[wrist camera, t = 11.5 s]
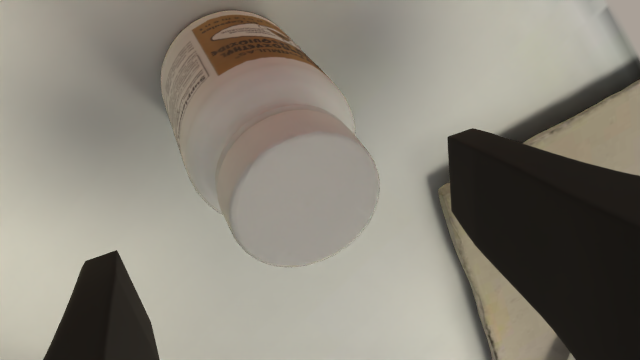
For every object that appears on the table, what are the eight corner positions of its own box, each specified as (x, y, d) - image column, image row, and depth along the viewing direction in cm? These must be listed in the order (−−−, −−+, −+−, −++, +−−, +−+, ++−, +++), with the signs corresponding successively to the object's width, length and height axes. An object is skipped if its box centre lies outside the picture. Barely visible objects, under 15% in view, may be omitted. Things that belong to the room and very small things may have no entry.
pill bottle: (317, 34, 19) (434, 139, 13) (265, 152, 21) (349, 296, 15) (186, -16, 17) (252, 81, 11) (139, 119, 19) (175, 271, 13)
